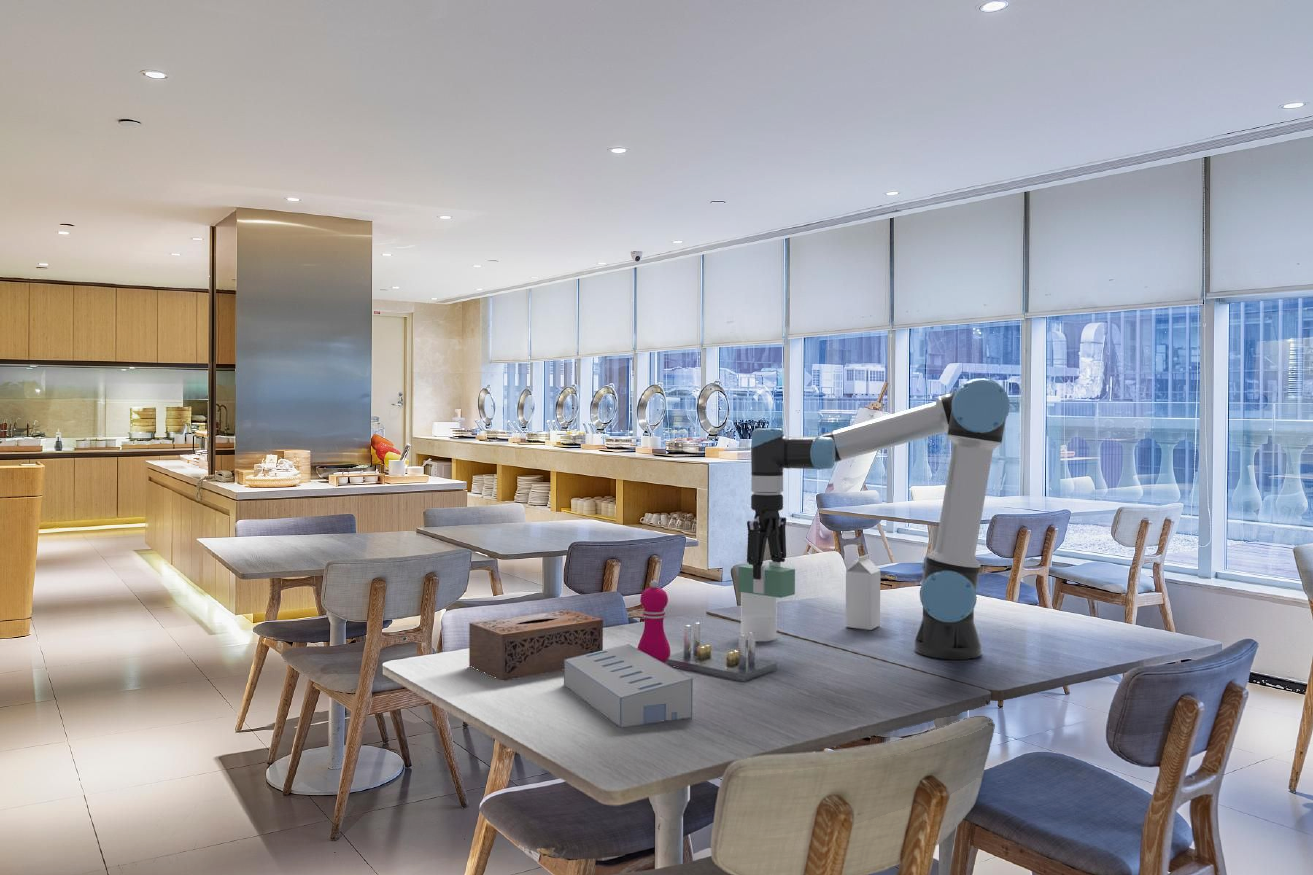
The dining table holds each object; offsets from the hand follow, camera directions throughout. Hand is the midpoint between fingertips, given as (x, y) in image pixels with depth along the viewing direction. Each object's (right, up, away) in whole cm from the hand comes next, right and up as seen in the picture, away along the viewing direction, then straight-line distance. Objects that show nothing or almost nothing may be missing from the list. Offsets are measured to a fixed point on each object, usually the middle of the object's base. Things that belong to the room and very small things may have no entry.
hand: (766, 590), depth 229 cm
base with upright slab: (0, -14, +16) cm, 21 cm away
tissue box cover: (-53, -15, -13) cm, 56 cm away
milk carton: (+29, -14, +29) cm, 44 cm away
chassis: (-12, -15, -14) cm, 24 cm away
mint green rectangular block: (0, 0, 0) cm, 1 cm away
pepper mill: (-27, -15, -19) cm, 36 cm away
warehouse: (-32, -15, -40) cm, 54 cm away
